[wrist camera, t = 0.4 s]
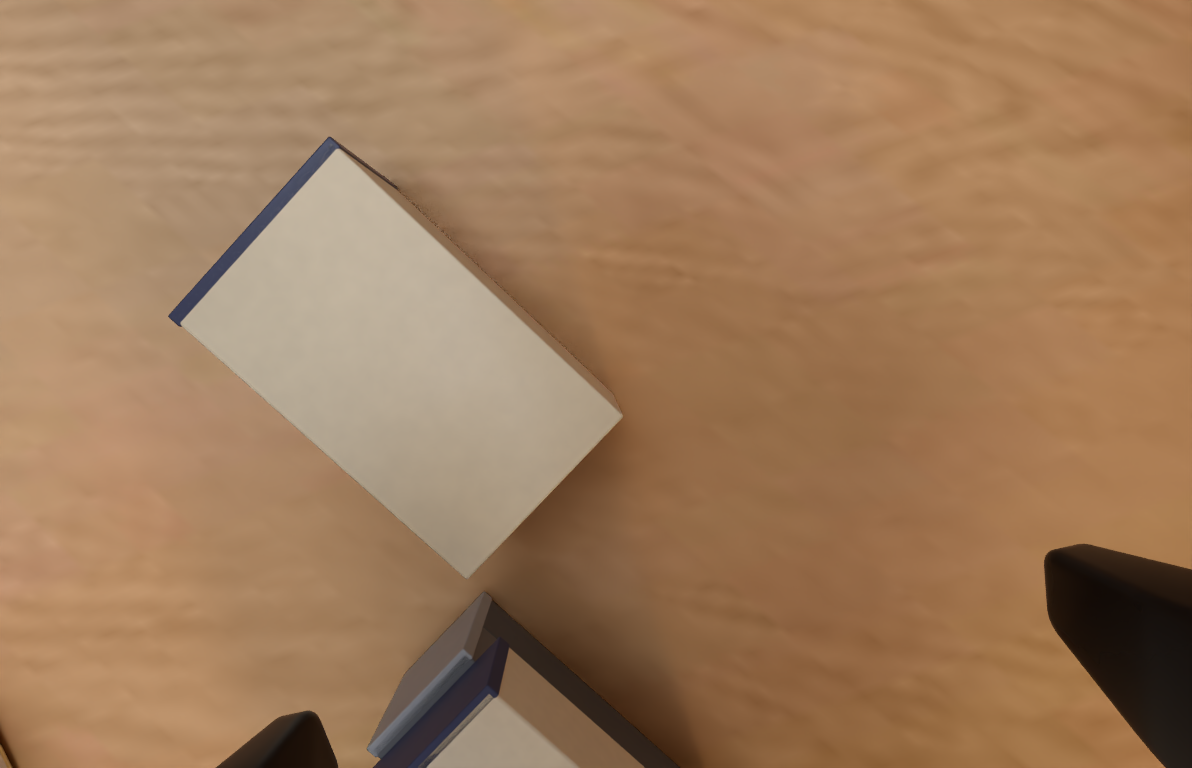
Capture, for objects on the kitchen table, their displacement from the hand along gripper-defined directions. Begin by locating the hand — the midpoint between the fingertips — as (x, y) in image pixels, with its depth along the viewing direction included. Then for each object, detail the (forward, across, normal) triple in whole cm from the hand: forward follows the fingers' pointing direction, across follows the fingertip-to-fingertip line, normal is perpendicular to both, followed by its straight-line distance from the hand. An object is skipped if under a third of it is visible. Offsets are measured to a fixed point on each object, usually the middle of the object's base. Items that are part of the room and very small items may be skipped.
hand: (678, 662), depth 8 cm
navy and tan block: (+14, +6, -2) cm, 15 cm away
